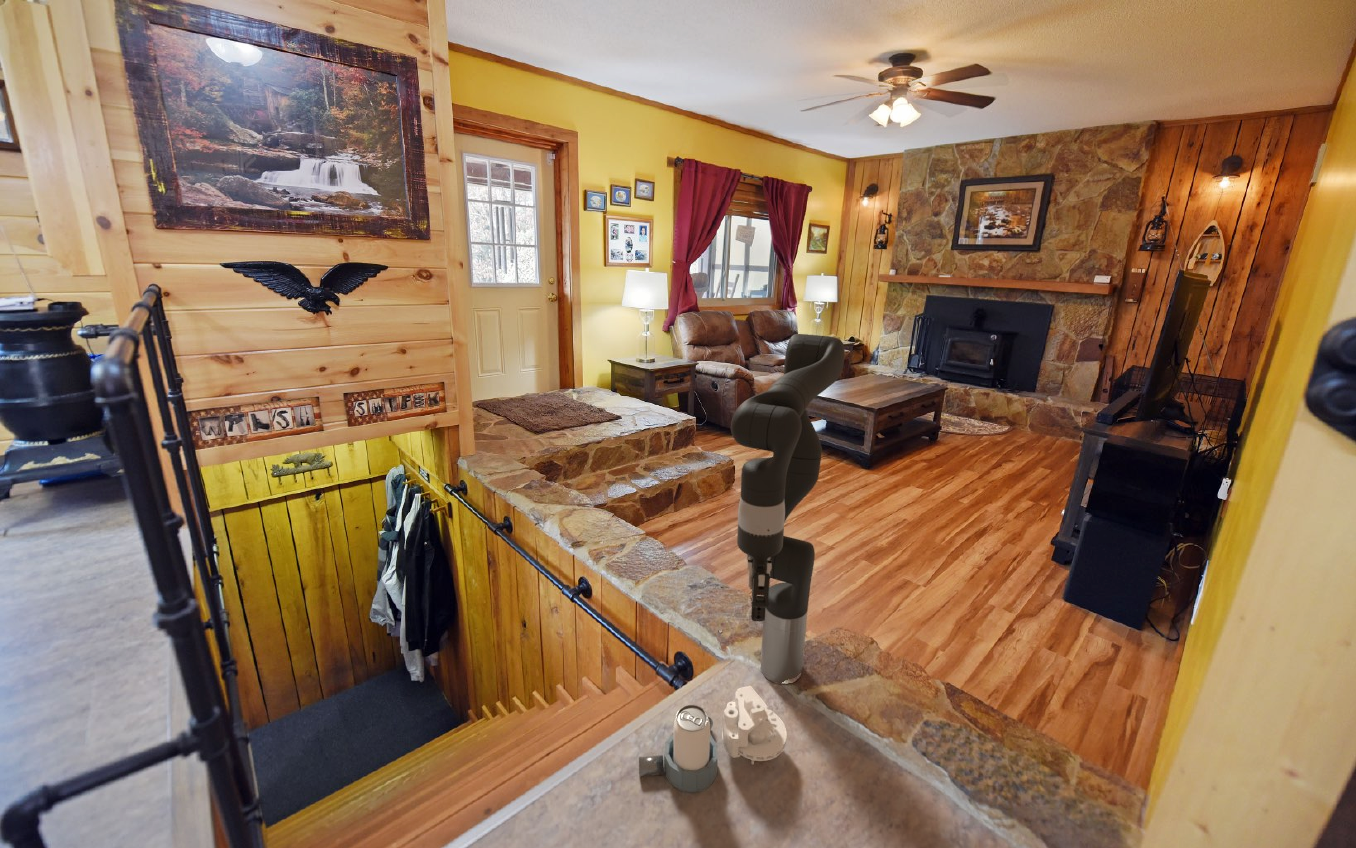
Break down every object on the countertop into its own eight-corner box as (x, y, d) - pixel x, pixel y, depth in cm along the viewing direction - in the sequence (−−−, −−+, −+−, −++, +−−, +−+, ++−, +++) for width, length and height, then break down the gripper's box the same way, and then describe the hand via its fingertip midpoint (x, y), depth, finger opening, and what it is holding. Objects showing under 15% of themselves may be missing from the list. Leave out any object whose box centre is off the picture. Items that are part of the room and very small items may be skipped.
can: (683, 747, 105) (683, 697, 101) (714, 760, 103) (716, 711, 99) (667, 775, 100) (667, 724, 96) (699, 790, 97) (701, 739, 93)
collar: (667, 743, 107) (667, 726, 106) (717, 747, 107) (717, 729, 105) (662, 791, 98) (662, 772, 97) (716, 795, 97) (717, 776, 96)
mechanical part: (789, 778, 101) (793, 729, 97) (723, 777, 101) (725, 727, 97) (779, 726, 111) (783, 679, 107) (720, 724, 111) (721, 678, 107)
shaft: (662, 763, 103) (662, 751, 102) (663, 778, 100) (663, 766, 99) (638, 765, 103) (638, 753, 102) (639, 780, 100) (639, 768, 99)
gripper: (788, 546, 84) (782, 633, 89) (780, 501, 97) (774, 579, 103) (738, 544, 84) (735, 630, 90) (737, 500, 98) (734, 577, 103)
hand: (756, 603), depth 96 cm, fingers open, 8 cm apart
